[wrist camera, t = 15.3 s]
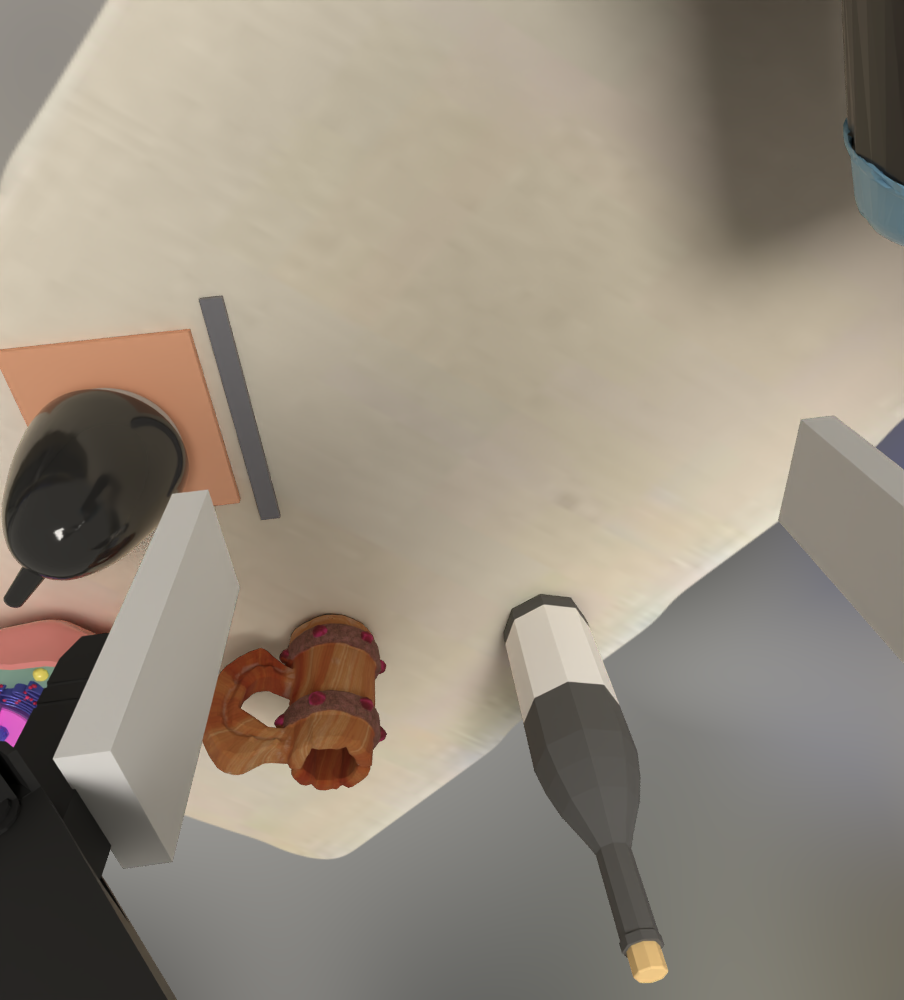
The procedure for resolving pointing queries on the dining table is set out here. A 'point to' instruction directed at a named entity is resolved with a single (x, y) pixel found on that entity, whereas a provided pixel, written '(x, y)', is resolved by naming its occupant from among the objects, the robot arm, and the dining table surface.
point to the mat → (133, 391)
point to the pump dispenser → (88, 485)
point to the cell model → (29, 668)
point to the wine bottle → (584, 757)
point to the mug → (303, 706)
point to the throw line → (239, 404)
